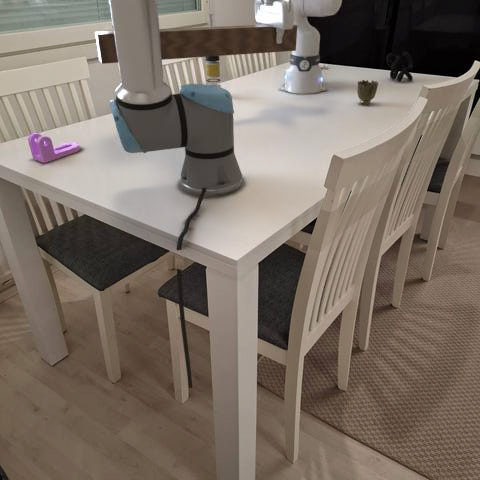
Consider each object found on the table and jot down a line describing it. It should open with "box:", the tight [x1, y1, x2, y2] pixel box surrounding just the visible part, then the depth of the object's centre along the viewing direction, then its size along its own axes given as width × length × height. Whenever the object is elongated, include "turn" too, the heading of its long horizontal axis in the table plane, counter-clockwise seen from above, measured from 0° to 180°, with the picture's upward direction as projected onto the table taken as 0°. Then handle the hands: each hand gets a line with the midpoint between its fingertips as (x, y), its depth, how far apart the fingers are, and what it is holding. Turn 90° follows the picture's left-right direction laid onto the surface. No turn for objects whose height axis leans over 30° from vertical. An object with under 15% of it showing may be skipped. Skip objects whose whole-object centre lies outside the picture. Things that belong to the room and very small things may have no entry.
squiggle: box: [385, 51, 414, 83], centre depth 198 cm, size 11×10×15 cm
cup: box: [357, 79, 379, 106], centre depth 166 cm, size 8×7×8 cm
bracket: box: [27, 132, 81, 164], centre depth 127 cm, size 13×6×7 cm, turn 143°
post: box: [94, 24, 297, 65], centre depth 135 cm, size 62×5×8 cm, turn 113°
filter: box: [204, 13, 222, 88], centre depth 175 cm, size 6×6×30 cm
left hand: (124, 58), depth 129 cm, fingers closed on post, 5 cm apart
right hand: (273, 41), depth 143 cm, fingers closed on post, 5 cm apart
